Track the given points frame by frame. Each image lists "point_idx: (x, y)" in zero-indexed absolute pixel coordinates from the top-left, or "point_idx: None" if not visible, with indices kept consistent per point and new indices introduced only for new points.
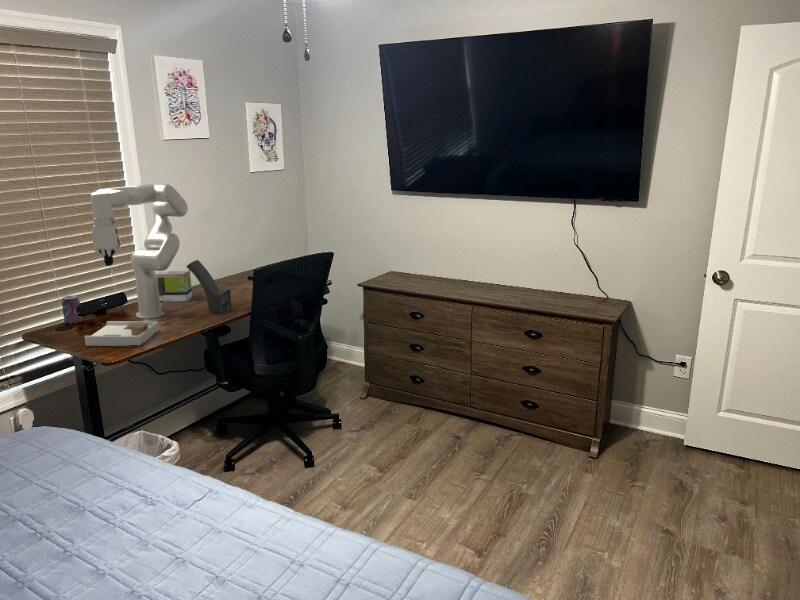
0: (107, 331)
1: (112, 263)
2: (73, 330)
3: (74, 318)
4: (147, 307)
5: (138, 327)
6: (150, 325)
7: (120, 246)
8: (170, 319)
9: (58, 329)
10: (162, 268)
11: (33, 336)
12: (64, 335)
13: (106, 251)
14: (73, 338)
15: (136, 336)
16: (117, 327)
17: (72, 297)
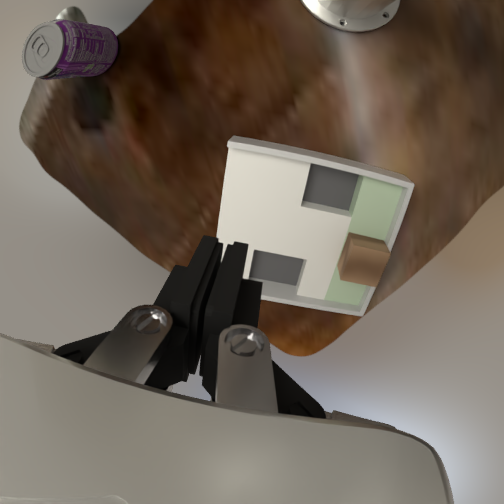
0: (253, 219)
1: (247, 250)
2: (124, 129)
3: (97, 70)
4: (359, 11)
5: (363, 283)
6: (387, 182)
7: (424, 450)
8: (428, 60)
9: (81, 118)
10: None
11: (54, 177)
12: (119, 175)
13: (146, 371)
14: (155, 206)
15: (355, 313)
16: (276, 180)
17: (47, 41)
